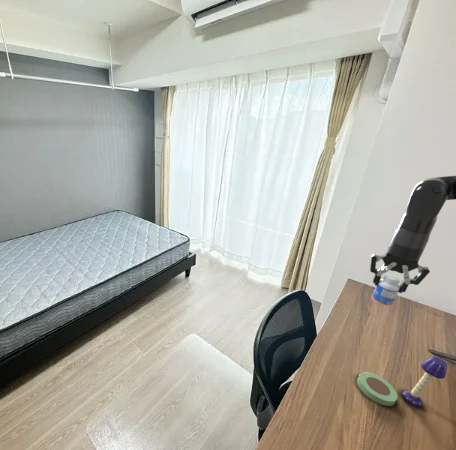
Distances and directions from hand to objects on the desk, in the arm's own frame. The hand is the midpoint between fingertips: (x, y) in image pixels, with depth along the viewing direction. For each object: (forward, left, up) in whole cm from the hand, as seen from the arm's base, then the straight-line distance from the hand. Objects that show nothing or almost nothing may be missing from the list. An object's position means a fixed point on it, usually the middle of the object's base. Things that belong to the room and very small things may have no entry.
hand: (387, 287), depth 82 cm
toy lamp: (-12, +17, -25) cm, 33 cm away
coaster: (-3, +20, -25) cm, 32 cm away
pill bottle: (0, 0, -6) cm, 6 cm away
